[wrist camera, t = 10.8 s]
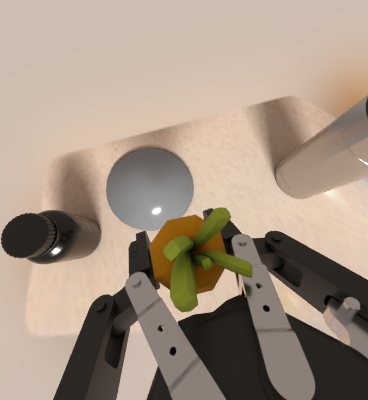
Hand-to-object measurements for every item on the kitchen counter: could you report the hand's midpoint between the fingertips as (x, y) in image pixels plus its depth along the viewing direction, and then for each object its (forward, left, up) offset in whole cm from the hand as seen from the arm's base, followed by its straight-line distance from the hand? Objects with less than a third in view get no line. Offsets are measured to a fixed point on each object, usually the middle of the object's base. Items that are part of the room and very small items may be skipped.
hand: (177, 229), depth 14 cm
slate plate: (+1, -10, -18) cm, 20 cm away
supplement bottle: (+15, -5, -18) cm, 24 cm away
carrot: (0, +2, -7) cm, 8 cm away
